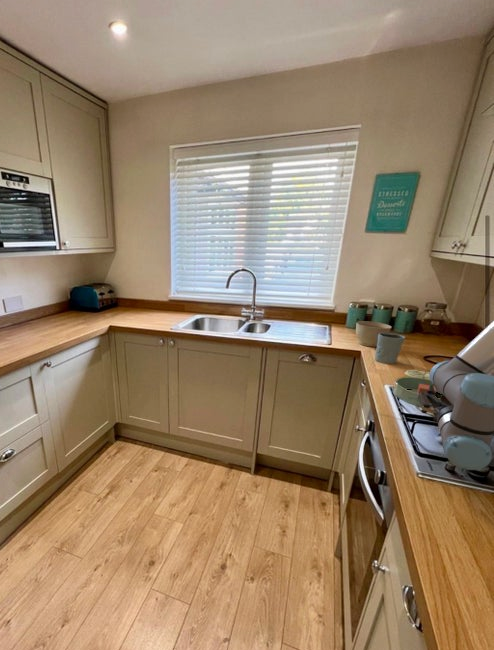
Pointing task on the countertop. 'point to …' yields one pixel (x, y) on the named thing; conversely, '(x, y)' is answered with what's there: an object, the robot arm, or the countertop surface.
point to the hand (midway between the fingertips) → (445, 392)
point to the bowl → (410, 383)
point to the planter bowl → (370, 332)
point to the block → (424, 388)
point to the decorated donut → (417, 374)
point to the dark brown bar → (443, 401)
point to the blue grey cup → (388, 347)
